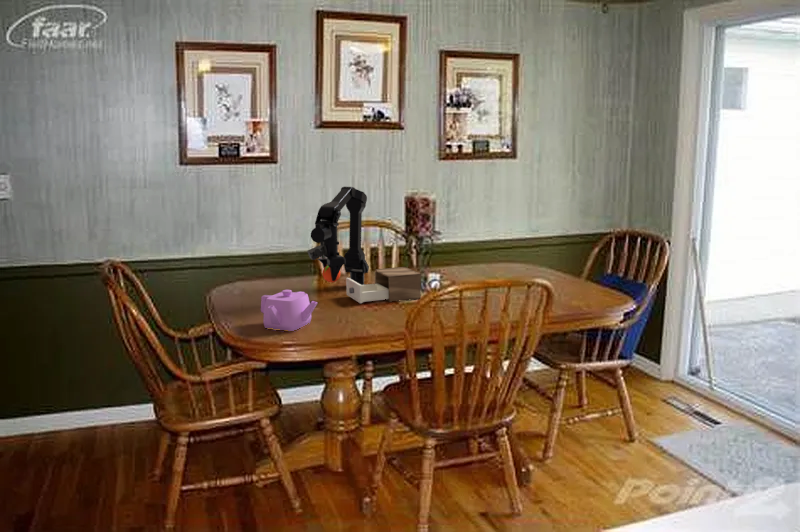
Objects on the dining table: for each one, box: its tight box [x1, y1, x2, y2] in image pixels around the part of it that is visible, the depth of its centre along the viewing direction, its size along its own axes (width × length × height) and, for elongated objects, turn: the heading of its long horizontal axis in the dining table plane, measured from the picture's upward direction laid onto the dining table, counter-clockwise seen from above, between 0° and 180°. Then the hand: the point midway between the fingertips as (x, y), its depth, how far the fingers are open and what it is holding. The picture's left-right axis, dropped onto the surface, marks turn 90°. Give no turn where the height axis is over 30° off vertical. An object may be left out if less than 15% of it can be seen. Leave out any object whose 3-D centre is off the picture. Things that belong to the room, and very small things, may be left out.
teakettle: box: [260, 289, 318, 332], centre depth 242 cm, size 17×17×12 cm
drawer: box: [345, 277, 389, 304], centre depth 278 cm, size 15×14×7 cm
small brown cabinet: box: [374, 266, 422, 303], centre depth 283 cm, size 15×13×10 cm
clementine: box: [322, 265, 341, 283], centre depth 275 cm, size 8×7×7 cm
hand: (330, 279), depth 276 cm, fingers closed on clementine, 7 cm apart
